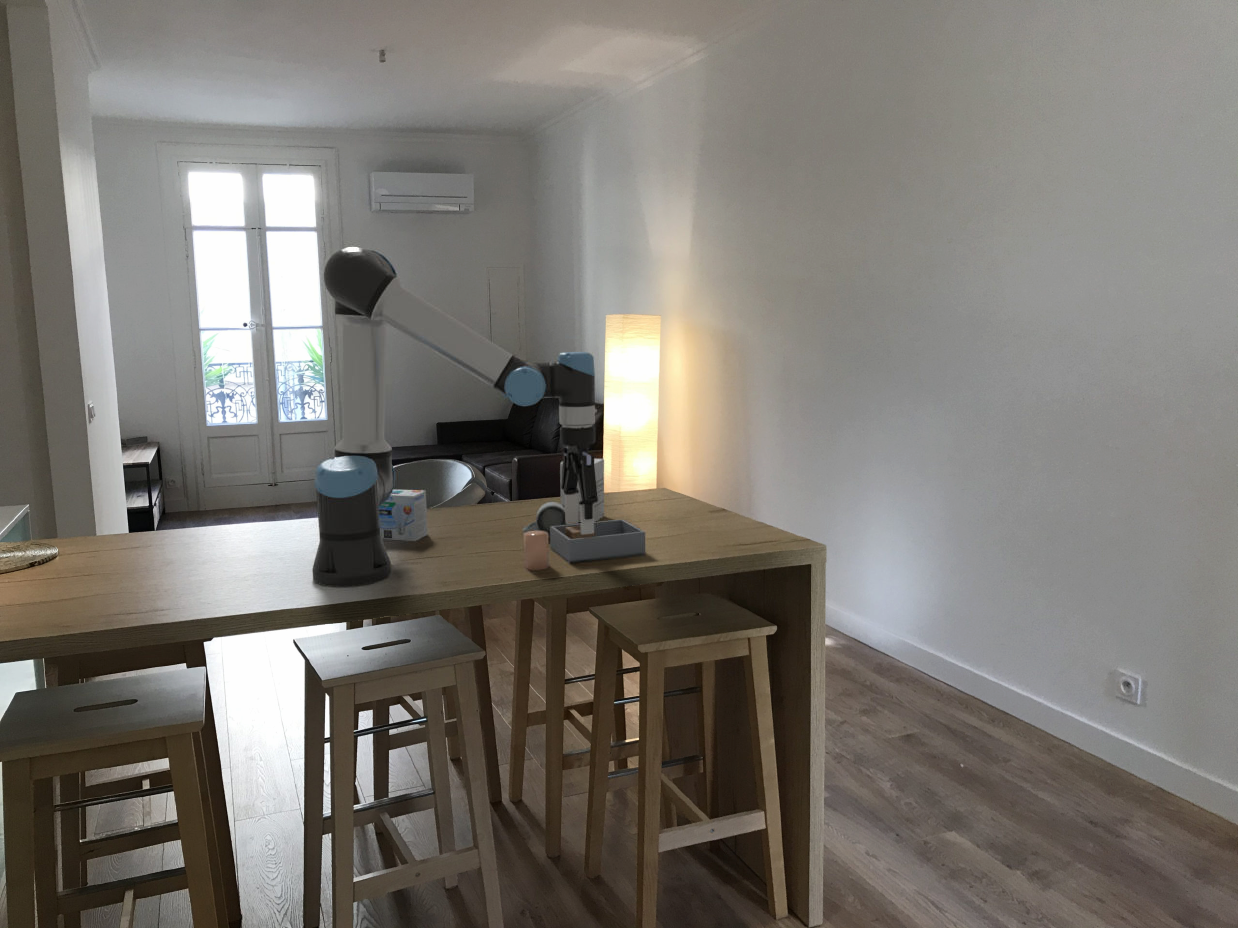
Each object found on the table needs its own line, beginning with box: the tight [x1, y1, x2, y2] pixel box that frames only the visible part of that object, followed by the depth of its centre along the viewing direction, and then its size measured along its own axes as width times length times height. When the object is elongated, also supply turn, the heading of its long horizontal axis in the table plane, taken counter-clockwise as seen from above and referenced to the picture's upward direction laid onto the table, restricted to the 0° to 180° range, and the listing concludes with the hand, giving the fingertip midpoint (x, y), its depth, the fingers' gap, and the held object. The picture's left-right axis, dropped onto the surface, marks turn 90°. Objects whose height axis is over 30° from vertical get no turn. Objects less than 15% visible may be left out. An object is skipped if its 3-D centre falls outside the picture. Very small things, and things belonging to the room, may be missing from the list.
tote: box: [549, 519, 646, 564], centre depth 203 cm, size 17×13×5 cm
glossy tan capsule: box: [523, 531, 550, 571], centre depth 192 cm, size 5×5×7 cm
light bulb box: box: [379, 488, 429, 542], centre depth 217 cm, size 11×7×11 cm, turn 76°
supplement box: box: [559, 458, 605, 522], centre depth 233 cm, size 9×9×15 cm
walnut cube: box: [565, 526, 595, 539], centre depth 201 cm, size 5×5×5 cm
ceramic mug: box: [522, 501, 569, 537], centre depth 219 cm, size 11×8×8 cm
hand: (579, 528), depth 201 cm, fingers open, 9 cm apart
